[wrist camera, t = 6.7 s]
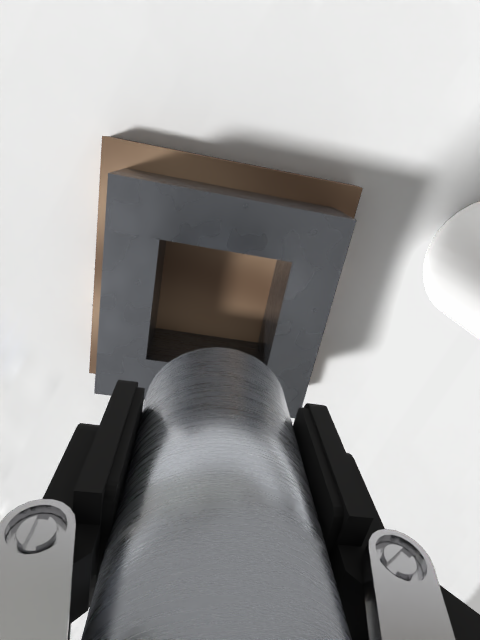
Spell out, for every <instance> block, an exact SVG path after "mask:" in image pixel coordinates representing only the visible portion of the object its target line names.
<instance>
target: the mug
mask: <svg viewBox="0 0 480 640" xmlns="http://www.w3.org/2000/svg"><path fill="white" fill-rule="evenodd" d="M423 280H424V285H425V290H426V292H427V295H428V297H429V299H430V300H431V302H432V303H433V304H434V306H435V307H436V308H437V309H439V310H440V311H441V312H442V313H444V314H445V315H446V316H448V317H449V318H451V319H452V320H453V321H455V322H456V323H457V324H459V325H460V326H461V327H463V328H464V329H465V330H467V331H468V332H469V333H471V334H472V335H473V336H475V337H476V338H477V339H479V340H480V201H479V202H476V203H474V204H471V205H469V206H468V207H466V208H464V209H462V210H461V211H459V212H457V213H456V214H455V215H454V216H452V217H451V218H450V219H449V220H448V221H447V222H446V223H445V224H444V225H443V226H442V227H441V228H440V229H439V230H438V232H437V234H436V235H435V237H434V238H433V240H432V241H431V243H430V246H429V248H428V250H427V253H426V256H425V261H424V265H423Z"/></svg>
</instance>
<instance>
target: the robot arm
mask: <svg viewBox="0 0 480 640" xmlns="http://www.w3.org/2000/svg"><path fill="white" fill-rule="evenodd" d="M144 393H145V388H141V387H138V382H135V381H127V380H118V381H117V383H116V385H115V388H114V390H113V393H112V396H111V398H110V401H109V403H108V406H107V408H106V411H105V413H104V416H103V418H102V421H101V423H100V425H92V424H83V423H80V424H79V425H78V426H77V428H76V430H75V432H74V434H73V436H72V438H71V440H70V442H69V444H68V447H67V449H66V451H65V453H64V455H63V457H62V459H61V461H60V463H59V465H58V468H57V470H56V472H55V474H54V476H53V478H52V480H51V482H50V484H49V486H48V489H47V491H46V493H45V495H44V497H43V499H39V500H34V501H30V502H27V503H25V504H22V505H20V506H18V507H16V508H15V509H14V510H12V511H11V512H9V513H8V514H7V515H6V516H5V517H4V519H3V520H2V521H1V522H0V640H70V634H71V623H72V622H73V621H74V620H76V619H77V618H78V617H80V616H81V615H82V614H84V613H85V612H86V611H88V608H89V607H90V605H91V602H92V598H93V594H94V590H95V586H96V583H97V579H98V575H99V571H100V568H101V564H102V560H103V556H104V552H105V549H106V545H107V541H108V538H109V535H110V532H111V530H112V526H113V522H114V518H115V515H116V511H117V507H118V503H119V499H120V495H121V492H122V488H123V484H124V480H125V476H126V472H127V469H128V465H129V461H130V457H131V453H132V450H133V446H134V442H135V438H136V434H137V430H138V427H139V423H140V419H141V415H142V410H143V401H144ZM293 429H294V433H295V437H296V440H297V444H298V447H299V451H300V455H301V458H302V462H303V465H304V469H305V473H306V476H307V480H308V484H309V487H310V491H311V494H312V498H313V502H314V505H315V509H316V513H317V516H318V520H319V523H320V527H321V531H322V534H323V538H324V541H325V545H326V549H327V552H328V556H329V560H330V563H331V567H332V570H333V574H334V578H335V581H336V585H337V588H338V592H339V596H340V599H341V603H342V607H343V610H344V614H345V617H346V621H347V625H348V628H349V632H350V635H351V639H352V640H480V615H479V614H478V613H477V612H475V611H474V610H473V609H471V608H470V607H469V606H467V605H466V604H465V603H463V602H462V601H461V600H459V599H458V598H457V597H455V596H454V595H453V594H451V593H450V592H448V591H447V590H446V589H444V588H443V587H442V586H440V585H439V582H438V579H437V576H436V572H435V569H434V566H433V564H432V561H431V559H430V557H429V556H428V554H427V553H426V552H425V550H424V549H423V548H422V547H421V546H420V545H419V544H418V543H417V542H416V541H415V540H413V539H412V538H410V537H409V536H407V535H405V534H403V533H401V532H398V531H396V530H390V529H385V528H384V526H383V524H382V522H381V519H380V517H379V515H378V512H377V510H376V508H375V506H374V503H373V501H372V499H371V497H370V494H369V492H368V490H367V487H366V485H365V483H364V481H363V478H362V476H361V474H360V471H359V469H358V467H357V465H356V462H355V460H354V458H353V457H352V455H351V454H349V453H346V452H345V449H344V447H343V444H342V442H341V440H340V437H339V435H338V433H337V430H336V428H335V425H334V423H333V421H332V418H331V416H330V414H329V411H328V409H327V407H326V406H324V405H316V404H309V403H307V404H306V405H305V406H304V408H301V407H300V408H299V409H298V411H297V414H296V418H295V421H294V424H293Z"/></svg>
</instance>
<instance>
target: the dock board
mask: <svg viewBox="0 0 480 640" xmlns="http://www.w3.org/2000/svg"><path fill="white" fill-rule="evenodd" d="M124 168H129V169H135V170H140V171H145V172H150V173H155V174H161V175H166V176H171V177H176V178H182V179H187V180H192V181H197V182H203V183H208V184H213V185H218V186H223V187H229V188H234V189H239V190H244V191H250V192H255V193H260V194H265V195H271V196H276V197H281V198H286V199H291V200H297V201H302V202H307V203H312V204H318V205H323V206H328V207H333V208H335V209H337V210H339V211H341V212H343V213H345V214H346V215H348V216H350V217H352V218H354V216H355V213H356V210H357V206H358V203H359V199H360V196H361V192H362V189H363V188H361V187H358V186H355V185H350V184H345V183H340V182H335V181H330V180H325V179H320V178H315V177H310V176H305V175H300V174H295V173H290V172H285V171H280V170H275V169H270V168H265V167H260V166H255V165H250V164H244V163H239V162H234V161H229V160H224V159H219V158H214V157H209V156H204V155H199V154H194V153H189V152H184V151H179V150H174V149H169V148H164V147H159V146H154V145H149V144H144V143H139V142H134V141H129V140H124V139H119V138H114V137H109V136H102V148H101V167H100V185H99V204H98V222H97V240H96V259H95V277H94V296H93V314H92V332H91V351H90V369H89V373H94V374H96V361H97V344H98V328H99V312H100V295H101V279H102V263H103V246H104V230H105V214H106V197H107V181H108V173H110V172H114V171H117V170H121V169H124ZM276 261H277V260H276V259H270V258H264V257H258V256H253V255H247V254H241V253H235V252H229V251H224V250H218V249H212V248H206V247H200V246H194V245H189V244H183V243H177V242H171V241H166V248H165V256H164V264H163V273H162V281H161V289H160V298H159V306H158V314H157V323H156V328H160V329H167V330H174V331H181V332H188V333H195V334H201V335H208V336H215V337H222V338H229V339H236V340H243V341H250V342H257V343H258V340H259V335H260V331H261V327H262V322H263V318H264V313H265V309H266V305H267V300H268V296H269V291H270V287H271V283H272V278H273V274H274V269H275V265H276Z"/></svg>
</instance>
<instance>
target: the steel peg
mask: <svg viewBox="0 0 480 640" xmlns="http://www.w3.org/2000/svg"><path fill="white" fill-rule="evenodd" d="M81 640H352V639H351V635H350V632H349V628H348V625H347V621H346V617H345V614H344V610H343V607H342V603H341V599H340V596H339V592H338V588H337V585H336V581H335V578H334V574H333V570H332V567H331V563H330V560H329V556H328V552H327V549H326V545H325V541H324V538H323V534H322V531H321V527H320V523H319V520H318V516H317V513H316V509H315V505H314V502H313V498H312V494H311V491H310V487H309V484H308V480H307V476H306V473H305V469H304V465H303V462H302V458H301V455H300V451H299V447H298V444H297V440H296V437H295V433H294V429H293V426H292V422H291V418H290V415H289V411H288V408H287V404H286V400H285V397H284V393H283V390H282V387H281V384H280V382H279V380H278V379H277V377H276V376H275V374H274V373H273V372H272V371H271V369H270V368H269V367H268V366H266V365H265V364H264V363H263V362H262V361H260V360H258V359H257V358H255V357H254V356H251V355H249V354H247V353H245V352H242V351H239V350H235V349H230V348H220V347H213V348H203V349H197V350H194V351H190V352H187V353H185V354H182V355H180V356H178V357H177V358H175V359H173V360H171V361H170V362H169V363H167V364H166V365H165V366H164V367H163V368H162V369H161V370H160V371H159V372H158V373H157V374H156V376H155V377H154V378H153V380H152V382H151V384H150V385H149V388H148V391H147V394H146V397H145V401H144V405H143V410H142V415H141V419H140V423H139V427H138V430H137V434H136V438H135V442H134V446H133V450H132V453H131V457H130V461H129V465H128V469H127V472H126V476H125V480H124V484H123V488H122V492H121V495H120V499H119V503H118V507H117V511H116V515H115V518H114V522H113V526H112V530H111V532H110V535H109V538H108V541H107V545H106V549H105V552H104V556H103V560H102V564H101V568H100V571H99V575H98V579H97V583H96V586H95V590H94V594H93V598H92V602H91V605H90V609H89V613H88V617H87V620H86V624H85V628H84V632H83V636H82V639H81Z"/></svg>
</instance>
